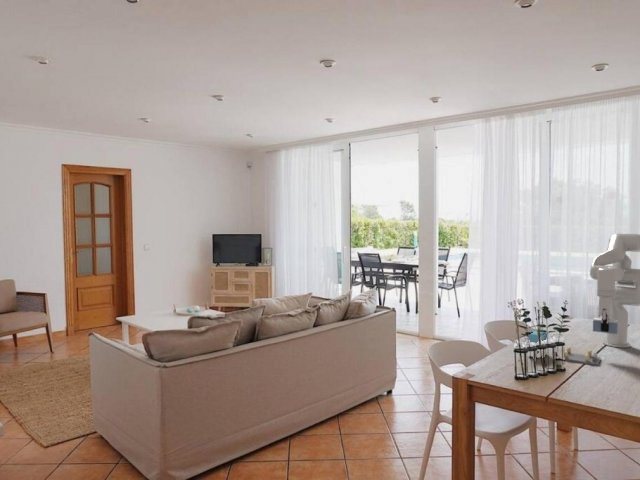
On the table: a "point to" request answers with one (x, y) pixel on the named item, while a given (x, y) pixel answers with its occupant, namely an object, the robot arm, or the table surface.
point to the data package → (534, 337)
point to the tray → (582, 357)
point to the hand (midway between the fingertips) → (605, 329)
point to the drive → (612, 323)
